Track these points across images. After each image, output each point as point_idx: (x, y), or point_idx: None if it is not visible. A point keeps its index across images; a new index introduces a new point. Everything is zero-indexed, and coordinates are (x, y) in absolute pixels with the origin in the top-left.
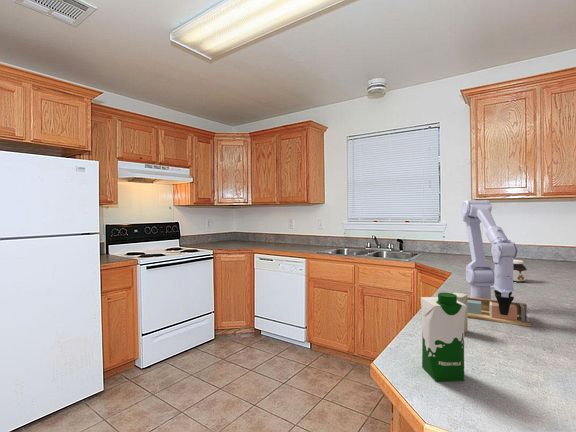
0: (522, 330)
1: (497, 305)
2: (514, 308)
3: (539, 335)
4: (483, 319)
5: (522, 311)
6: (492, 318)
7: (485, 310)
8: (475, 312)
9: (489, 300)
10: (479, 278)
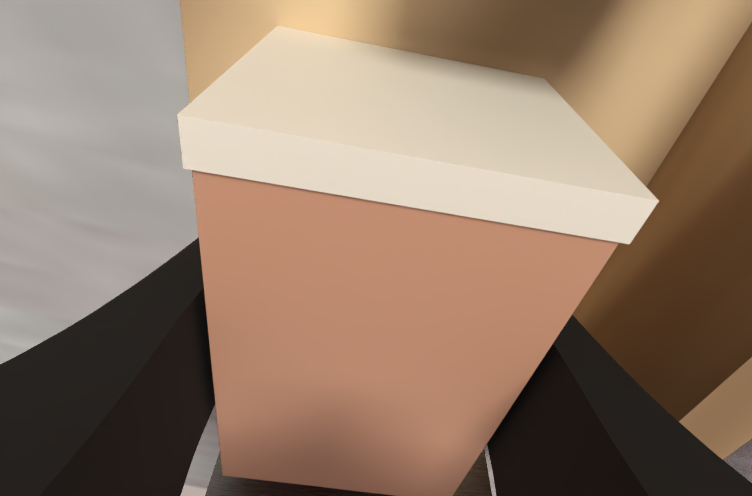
0: (44, 287)
1: (282, 290)
2: (221, 454)
3: (3, 359)
4: None
5: (215, 472)
6: (226, 56)
7: (745, 41)
8: None
9: None
10: None
